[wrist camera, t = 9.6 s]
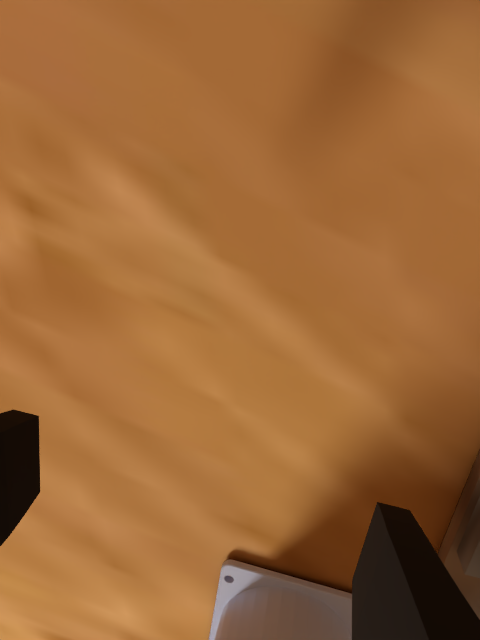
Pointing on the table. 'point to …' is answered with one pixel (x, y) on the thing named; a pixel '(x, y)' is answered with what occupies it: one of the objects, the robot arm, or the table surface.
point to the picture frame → (465, 541)
